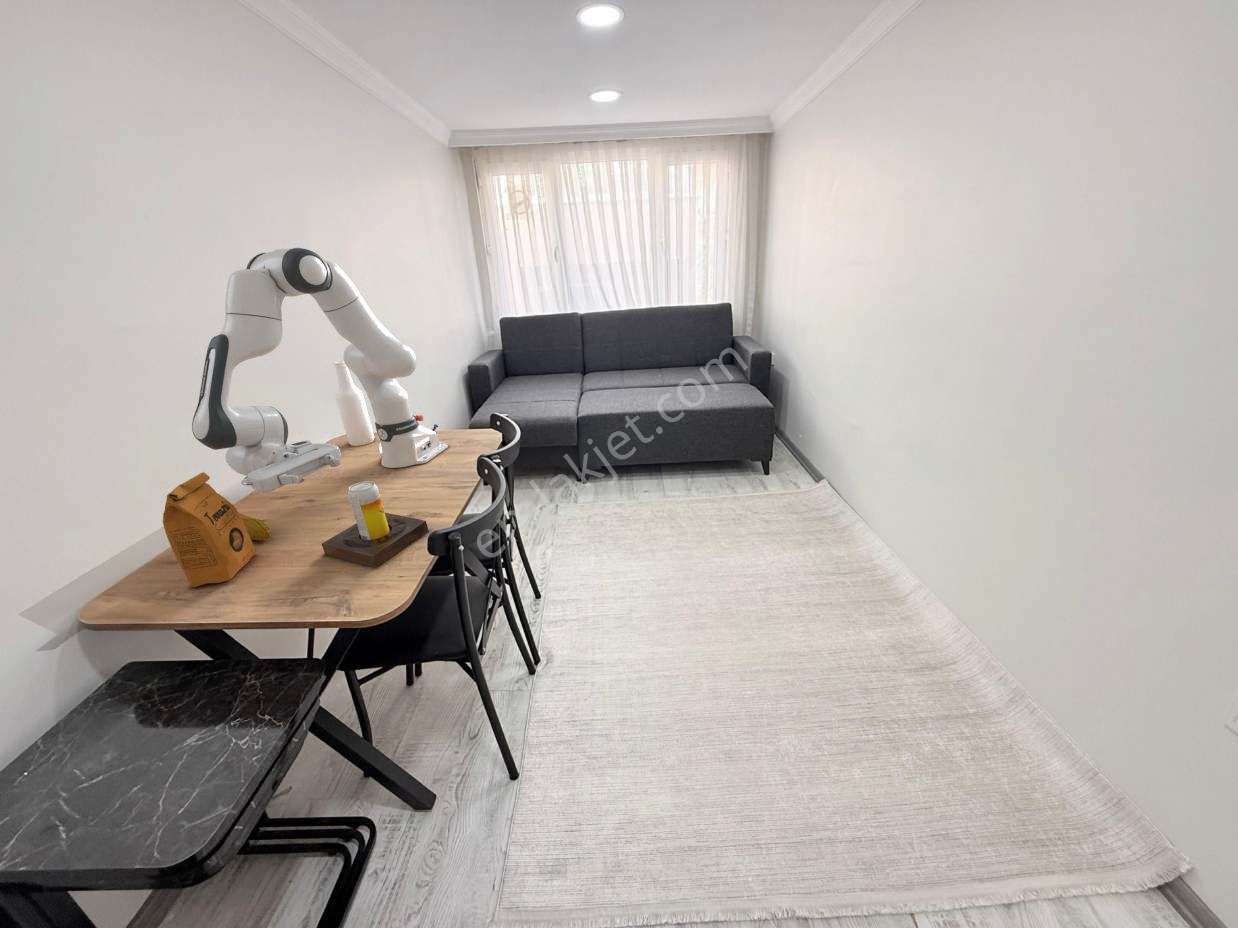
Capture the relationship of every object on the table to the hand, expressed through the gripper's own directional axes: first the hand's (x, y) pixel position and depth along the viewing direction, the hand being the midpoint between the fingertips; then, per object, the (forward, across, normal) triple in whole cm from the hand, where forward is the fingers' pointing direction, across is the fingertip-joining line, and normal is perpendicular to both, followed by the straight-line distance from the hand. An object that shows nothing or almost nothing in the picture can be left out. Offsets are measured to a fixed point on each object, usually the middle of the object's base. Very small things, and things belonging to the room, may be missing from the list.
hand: (319, 470), depth 115 cm
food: (-24, -9, +17) cm, 30 cm away
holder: (+13, 0, +17) cm, 22 cm away
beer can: (+13, 0, +17) cm, 22 cm away
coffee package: (-11, -20, +17) cm, 29 cm away
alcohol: (-51, +51, +18) cm, 74 cm away
